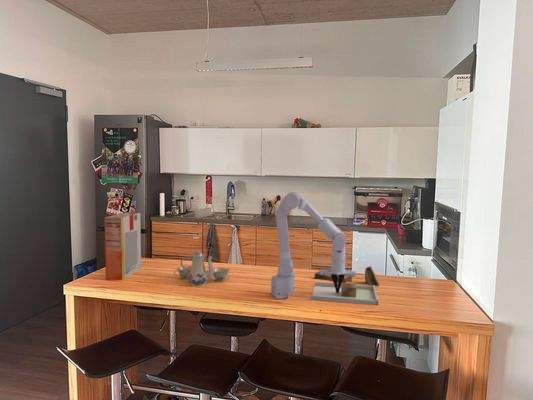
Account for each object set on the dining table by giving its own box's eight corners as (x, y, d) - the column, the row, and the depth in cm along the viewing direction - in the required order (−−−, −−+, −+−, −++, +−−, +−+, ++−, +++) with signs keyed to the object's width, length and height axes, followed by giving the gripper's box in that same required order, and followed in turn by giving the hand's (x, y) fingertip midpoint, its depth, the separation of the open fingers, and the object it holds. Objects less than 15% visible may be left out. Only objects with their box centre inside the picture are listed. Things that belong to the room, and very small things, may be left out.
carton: (344, 287, 175) (345, 278, 175) (314, 281, 185) (314, 272, 184) (352, 282, 182) (352, 274, 182) (321, 277, 191) (322, 269, 191)
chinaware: (232, 281, 188) (232, 247, 188) (225, 288, 171) (226, 251, 172) (176, 279, 190) (177, 246, 190) (165, 285, 173) (166, 249, 174)
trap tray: (310, 303, 152) (311, 294, 152) (314, 288, 172) (315, 281, 171) (378, 308, 147) (378, 299, 147) (374, 293, 166) (374, 285, 166)
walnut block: (341, 296, 157) (341, 286, 156) (341, 291, 162) (341, 282, 162) (356, 297, 155) (356, 288, 155) (355, 293, 161) (356, 283, 161)
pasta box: (126, 267, 205) (125, 212, 203) (141, 267, 205) (140, 212, 202) (105, 279, 182) (104, 217, 180) (122, 280, 182) (121, 217, 180)
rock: (360, 276, 184) (356, 278, 175) (371, 263, 183) (368, 265, 173) (377, 292, 180) (374, 295, 171) (389, 279, 179) (387, 282, 170)
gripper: (320, 261, 156) (319, 293, 157) (356, 263, 153) (355, 296, 154) (321, 257, 163) (320, 288, 164) (355, 259, 160) (354, 291, 161)
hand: (337, 292), depth 160 cm, fingers closed
